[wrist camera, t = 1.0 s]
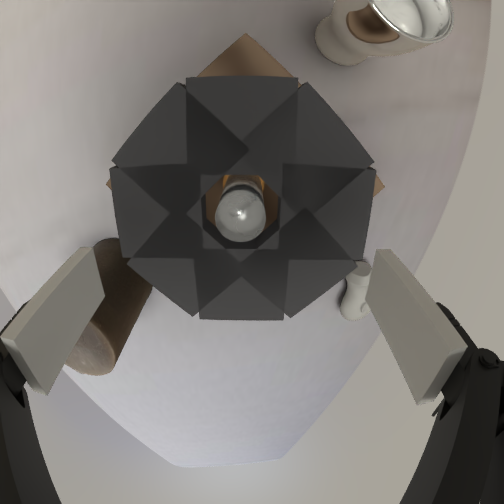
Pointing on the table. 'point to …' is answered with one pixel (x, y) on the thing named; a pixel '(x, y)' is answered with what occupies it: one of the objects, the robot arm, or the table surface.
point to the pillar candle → (110, 312)
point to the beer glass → (381, 28)
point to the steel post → (241, 208)
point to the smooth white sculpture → (356, 293)
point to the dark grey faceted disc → (242, 163)
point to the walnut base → (248, 64)
